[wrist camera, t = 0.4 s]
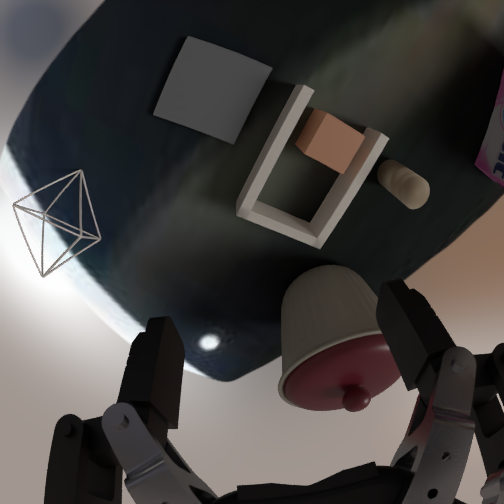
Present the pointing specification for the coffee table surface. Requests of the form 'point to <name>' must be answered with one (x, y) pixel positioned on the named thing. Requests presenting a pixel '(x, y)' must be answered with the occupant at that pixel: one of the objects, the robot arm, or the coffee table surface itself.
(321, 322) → the canister
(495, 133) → the gum box
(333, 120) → the terracotta block
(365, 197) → the coffee table surface
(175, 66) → the slate coaster
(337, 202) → the grey arch handle
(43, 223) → the geometric polyhedron
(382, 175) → the birch post
